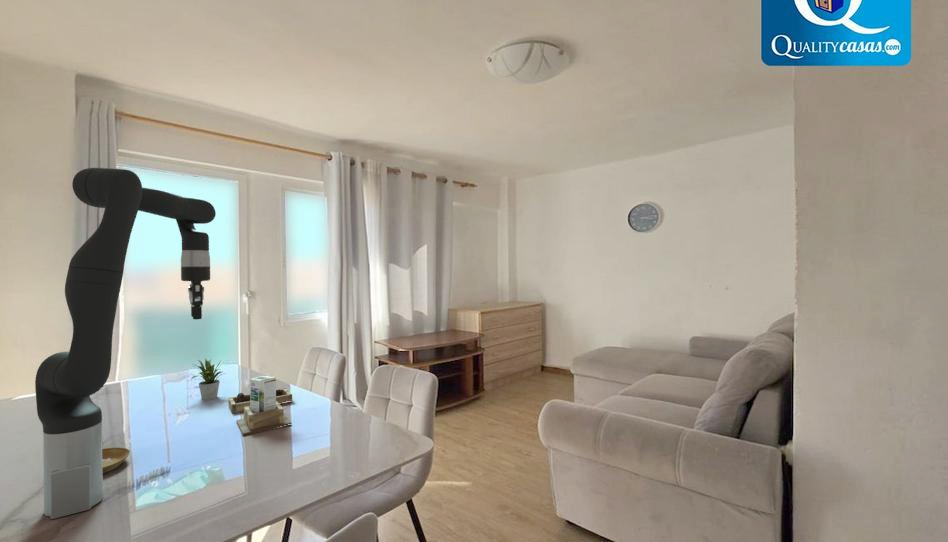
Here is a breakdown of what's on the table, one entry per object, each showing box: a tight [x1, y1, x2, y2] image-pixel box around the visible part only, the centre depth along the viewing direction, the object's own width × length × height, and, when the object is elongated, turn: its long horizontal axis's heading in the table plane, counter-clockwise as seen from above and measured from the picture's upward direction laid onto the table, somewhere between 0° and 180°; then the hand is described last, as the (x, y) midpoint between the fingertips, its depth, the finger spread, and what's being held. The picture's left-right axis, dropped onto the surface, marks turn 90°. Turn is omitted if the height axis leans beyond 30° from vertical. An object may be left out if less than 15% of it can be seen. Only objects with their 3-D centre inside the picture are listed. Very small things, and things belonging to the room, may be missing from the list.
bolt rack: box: [227, 388, 293, 415], centre depth 157 cm, size 10×20×3 cm, turn 127°
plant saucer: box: [102, 447, 131, 474], centre depth 107 cm, size 15×15×3 cm
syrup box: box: [249, 375, 277, 413], centre depth 137 cm, size 6×6×14 cm
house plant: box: [188, 358, 229, 401], centre depth 165 cm, size 14×14×16 cm
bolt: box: [236, 389, 283, 403], centre depth 158 cm, size 6×5×15 cm
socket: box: [236, 401, 293, 437], centre depth 137 cm, size 14×14×5 cm
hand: (196, 317), depth 129 cm, fingers open, 8 cm apart
